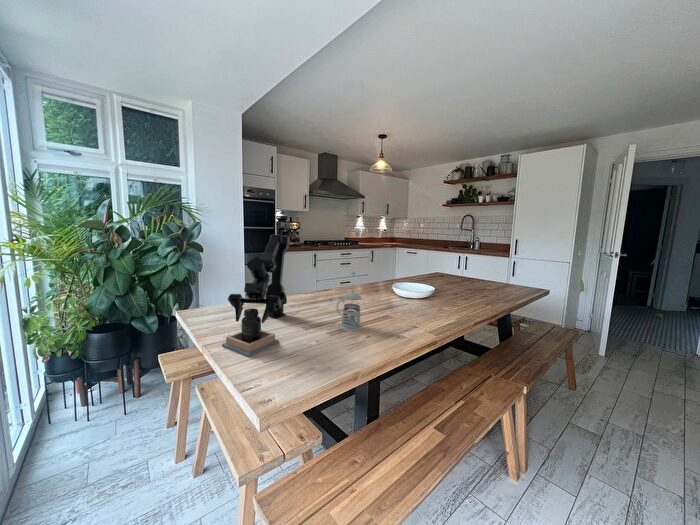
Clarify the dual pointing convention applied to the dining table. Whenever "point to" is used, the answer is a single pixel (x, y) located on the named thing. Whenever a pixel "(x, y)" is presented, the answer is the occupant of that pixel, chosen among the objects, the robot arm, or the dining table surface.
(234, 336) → the dock
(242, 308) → the robot arm
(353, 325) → the french press
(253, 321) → the supplement bottle
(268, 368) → the dining table surface
